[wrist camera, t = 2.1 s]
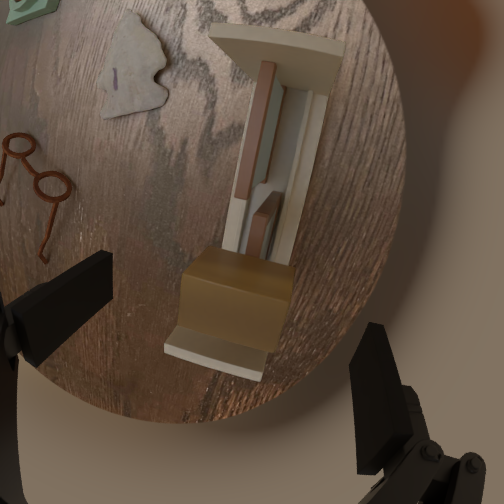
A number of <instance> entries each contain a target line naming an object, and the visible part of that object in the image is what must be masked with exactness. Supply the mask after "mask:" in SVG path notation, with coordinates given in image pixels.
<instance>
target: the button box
mask: <svg viewBox="0 0 504 504" xmlns="http://www.w3.org/2000/svg"><path fill="white" fill-rule="evenodd" d="M59 1H60V0H21V1H17V0H10V2H9V8H10V12H9V15H8V18H7V21H6V24H11V25H18V24H20V23H23V22H25V21H28V20H31V19H33V18H36V17H39V16H42V15H45V14H48V13H51V12H54V11H56V9H57V6H58V4H59Z"/></svg>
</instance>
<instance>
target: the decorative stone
mask: <svg viewBox="0 0 504 504" xmlns="http://www.w3.org/2000/svg"><path fill="white" fill-rule="evenodd" d="M166 61H167V58H166V57H165V55H164V53H163V51H162V45H161V42H160V41H159V39H157V36H156V34H154V33H152V32H151V31H150V30H149V29H147V28H146V27H145V26H144V25H143V24H142V23H141V17H140V16H139V15H138V14H137V13H133V12H132V10H130V9H126V11H125V12H124V15H123V18H122V19H121V21H120V22H119V23H118V25H117V27H116V29H115V32H114V35H113V39H112V44H111V47H110V49H109V51H108V53H107V55H106V57H105V64H104V67H103V70H102V71H101V73H100V74H99V76H98V79H97V82H96V84H97V87H98V88H99V89H103V90H105V91H106V92H107V101H106V103H105V105H104V106H103V108H102V109H101V112H100V115H101V118H102V119H104V120H105V119H110V118H113V117H117V116H121V115H127V114H130V113H133V112H141V111H145V110H150V109H153V108H158V107H161V106H162V105H164V103H165V101H166V99H167V97H168V90H167V89H166V88H164V87H163V86H161V85H158V84H156V83H155V82H154V78H153V77H154V75H155V74H156V73H157V71H158V70H160V69H162V68H164V67H165V65H166Z"/></svg>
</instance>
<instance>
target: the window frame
mask: <svg viewBox="0 0 504 504" xmlns="http://www.w3.org/2000/svg"><path fill="white" fill-rule="evenodd" d="M208 37H209V38H210V39H211V40H212V41H213V42H214V43H215V44H217V45H218V46H219V47H220V48H221V49H222V50H223V51H224V52H225V53H226V54H227V55H228V56H229V57H230V58H231V59H232V60H233V61H234V62H235V63H236V64H237V65H238V66H239V67H240V68H241V69H242V70H243V71H244V72H245V73H246V74H247V75H248V76H249V77H250V78H251V79H252V80H253V81H254V84H253V88H252V93H251V98H250V102H249V107H248V112H247V117H246V122H245V127H244V132H243V136H242V141H241V147H240V152H239V157H238V162H237V167H236V172H235V177H234V183H233V188H232V193H231V199H230V204H229V210H228V215H227V221H226V226H225V232H224V238H223V243H222V249H225V250H229V251H233V252H237V253H241V254H244V255H245V251H246V246H247V241H248V236H249V231H250V227H251V222H252V217H253V214H254V213H255V212H256V211H257V209H258V208H259V207H260V206H261V204H262V203H263V202H264V201H265V199H266V198H267V197H268V196H269V195H270V193H271V192H272V191H278V192H281V193H282V196H281V200H280V205H279V209H278V213H277V218H276V222H275V226H274V231H273V235H272V239H271V244H270V248H269V252H268V257H267V260H268V261H272V262H276V263H280V264H283V265H287V266H288V265H289V261H290V257H291V253H292V250H293V246H294V242H295V238H296V234H297V230H298V226H299V222H300V218H301V214H302V210H303V206H304V202H305V198H306V194H307V190H308V186H309V182H310V178H311V173H312V169H313V165H314V160H315V156H316V152H317V147H318V143H319V139H320V134H321V130H322V125H323V120H324V116H325V111H326V107H327V102H328V97H329V94H330V91H331V89H332V86H333V84H334V81H335V78H336V76H337V73H338V70H339V68H340V65H341V62H342V60H343V57H344V52H345V47H346V42H343V41H339V40H335V39H331V38H326V37H322V36H317V35H312V34H307V33H302V32H296V31H291V30H284V29H278V28H270V27H262V26H253V25H243V24H230V23H211V27H210V31H209V34H208ZM164 353H167V354H170V355H173V356H175V357H178V358H181V359H184V360H187V361H190V362H193V363H196V364H200V365H203V366H206V367H209V368H212V369H216V370H219V371H222V372H226V373H229V374H233V375H236V376H240V377H244V378H247V379H251V380H255V381H259V382H260V381H261V378H262V375H263V371H264V367H265V363H266V358H267V354H268V352H266V351H263V350H259V349H255V348H251V347H248V346H244V345H240V344H237V343H233V342H230V341H226V340H223V339H219V338H216V337H213V336H209V335H206V334H203V333H199V332H196V331H193V330H190V329H187V328H184V327H181V326H178V325H177V326H176V328H175V329H174V331H173V332H172V333H171V335H170V336H169V338H168V339H167V340H166V342H165V344H164Z"/></svg>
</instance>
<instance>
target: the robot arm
mask: <svg viewBox="0 0 504 504" xmlns="http://www.w3.org/2000/svg"><path fill="white" fill-rule="evenodd" d="M112 265H113V253H110V252H107V251H104V250H100V251H98V252H96V253H95V254H93V255H91V256H90V257H88V258H86V259H85V260H83V261H81V262H80V263H78V264H76V265H75V266H73V267H72V268H70V269H68V270H67V271H65V272H64V273H62V274H60V275H59V276H57V277H56V278H54V279H52V280H51V281H49V282H46V283H42V284H39V285H37V286H35V287H34V288H32V289H31V290H30V291H27V292H26V293H24V295H21V296H20V297H18V298H17V299H15V300H14V301H12V302H11V303H9V304H8V305H7V306H5V307H4V305H3V300H2V295H1V292H0V504H28V503H27V501H26V499H25V497H24V494H23V488H22V481H21V474H20V465H19V454H18V440H17V379H18V364H19V359H18V355H17V354H18V353H19V352H20V351H21V350H22V353H23V356H24V359H25V361H27V362H28V363H30V364H31V365H33V366H34V367H36V368H37V367H38V366H39V365H40V364H41V363H42V362H43V361H44V360H46V359H47V358H48V357H49V356H50V355H51V354H52V353H53V352H54V351H55V350H56V349H57V348H58V347H59V346H60V345H62V344H63V343H64V342H65V341H66V340H67V339H68V338H69V337H70V336H71V335H72V334H73V333H75V332H76V331H77V330H78V329H79V328H80V327H81V326H82V325H83V324H85V323H86V322H87V321H88V320H89V319H90V318H91V317H92V316H93V315H95V314H96V313H97V312H98V311H99V310H100V309H101V308H103V307H104V306H105V305H106V304H107V303H108V302H109V301H111V300H112V299H113V272H112ZM349 371H350V380H351V390H352V399H353V412H354V425H355V438H356V458H357V474H360V475H376V474H377V473H378V472H379V471H380V470H381V469H382V468H383V470H384V477H382V478H381V479H380V480H379V481H378V482H377V483H376V484H375V485H374V486H373V487H371V490H370V492H368V494H367V495H366V496H365V497H364V498H363V499H362V500H361V501H360V502H359V503H358V504H417V503H418V504H481V502H482V496H483V489H484V482H485V474H486V465H485V462H484V460H483V459H482V458H481V457H480V456H479V455H478V454H476V453H472V452H469V453H466V454H464V455H463V456H462V457H461V458H460V459H457V458H453V457H450V456H446V455H444V453H443V450H442V448H441V446H439V445H438V444H437V443H436V442H434V441H432V440H430V437H429V433H428V430H427V426H426V422H425V419H424V415H423V414H422V408H421V406H420V402H419V399H418V395H417V394H416V392H415V391H414V390H413V388H412V387H411V386H405V385H402V384H401V380H400V377H399V374H398V370H397V367H396V363H395V360H394V357H393V353H392V350H391V347H390V344H389V341H388V338H387V335H386V332H385V329H384V325H381V324H376V323H372V322H369V323H368V326H367V328H366V330H365V332H364V335H363V337H362V339H361V341H360V343H359V345H358V347H357V350H356V352H355V354H354V356H353V358H352V360H351V362H350V364H349ZM418 501H419V502H418Z"/></svg>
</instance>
